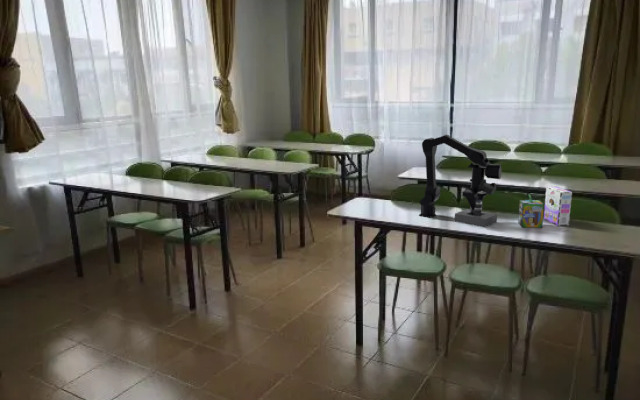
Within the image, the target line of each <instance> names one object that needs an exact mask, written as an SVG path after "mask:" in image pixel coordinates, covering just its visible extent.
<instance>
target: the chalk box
mask: <svg viewBox="0 0 640 400" xmlns="http://www.w3.org/2000/svg"><path fill="white" fill-rule="evenodd" d="M528 198H529V199H520V200H519V205H518V208H519V209H518V219H517V220H518V222H517V223H518V224H519V226H520V227H521V228H524V229H525V228H526V229H527V228H529V229H530V228H535V229H539V228H540V229H542V228H543V222H544V208H545V203H543V202H542V201H540V200H537V199H536V200H534V199H533V198H532V196H531V194H530V193H528Z"/></svg>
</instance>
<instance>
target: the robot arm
mask: <svg viewBox="0 0 640 400" xmlns="http://www.w3.org/2000/svg"><path fill="white" fill-rule="evenodd" d="M443 144H445V145H446V146H448V147H450V148H451V149H454V150H455V151H458V152H459V153H461V154H463V155H465V156H466V157H467V159H469V161H471V163H470V164H469V165H467V166H468V167H467V168H470V169H471V178H469V182H470V183H471V184H470V187H469V188H468V189H466V190H464V191H462V193H461V196H462V197H463V198H466V201H467V202H468V204H469V206H471V207H470V209H472V210H474V209H475V204H476V200H477V199H481V201H482V202H484V201H483V200H484V198H485V197H486V196H488V195H489V196H491V195H494V193H495V191H497V183H495V182H492V183H487V179H495V180H501V178H502V173H503V170H502V165H501V164H498V163H497V164H492V163H491V162H490V161H489V159H488V157H487V153H486V151H484V150H480V149H478V148H474V147H470V146H469V145H467V144H465V143H463V142H462V141H459V140H457V139H456V138H454V137H452V136H451V135H449V134H444V135H443V134H442V136H439V137H435V138H434V137H430V138H426V139H423V141H422V142H421V148H422V152H423V154H424V157H425V169H426V170H425V171H426V186H425V190H424V194H423V196H424V197H423V198H421V199H420V200H419V204H420V213H419V214H418V216H420V217H425V218H432V217H436V216H437V214H436V204H435V203H436V201H438V200H439V198H440V196H441V195H442V194H441V187H440V186H438V184H437V179H436V177H437V175H436V174H437V173H436V153H437V150H438V146H440V145H443ZM485 177H486V178H487V179H486V178H485Z"/></svg>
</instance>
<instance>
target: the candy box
mask: <svg viewBox="0 0 640 400" xmlns="http://www.w3.org/2000/svg"><path fill="white" fill-rule="evenodd" d="M572 197H573V191H570V190H567V189H565V188H562V187H560V186H546V187H545V197H544V208H543V220H546V221H547V222H549V223H552V224H553V225H556V226H558V227H559V226H561V227H562V226H563V227H564V226H570V220H571V219H570V218H571V207H572V199H573V198H572Z"/></svg>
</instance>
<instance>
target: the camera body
mask: <svg viewBox="0 0 640 400" xmlns="http://www.w3.org/2000/svg"><path fill="white" fill-rule="evenodd" d="M497 221H498V214H497V213H492V212H486V211H482V212H481V213H472V212H470V209H468V208H466V209H464V210H461V211H458V212H455V213H454V222H456V223H462V224H467V225H471V226H477V227H482V228H487V227H489V226H491V225H494V224H496V223H497Z"/></svg>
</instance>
